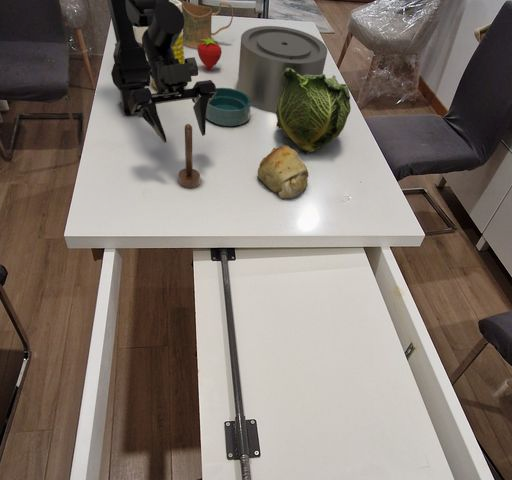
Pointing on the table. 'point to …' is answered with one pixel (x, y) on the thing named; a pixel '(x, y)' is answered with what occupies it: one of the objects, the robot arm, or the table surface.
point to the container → (276, 61)
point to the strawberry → (209, 52)
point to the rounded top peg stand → (189, 163)
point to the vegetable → (312, 109)
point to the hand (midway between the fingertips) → (185, 138)
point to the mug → (198, 23)
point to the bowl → (229, 107)
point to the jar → (139, 34)
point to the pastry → (283, 172)
